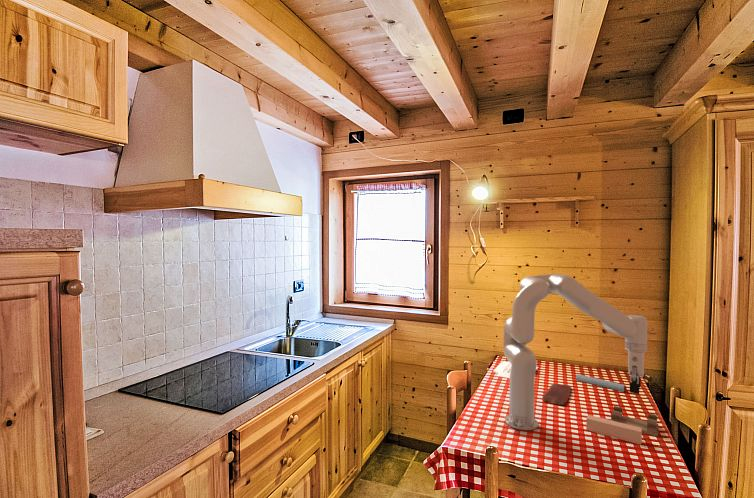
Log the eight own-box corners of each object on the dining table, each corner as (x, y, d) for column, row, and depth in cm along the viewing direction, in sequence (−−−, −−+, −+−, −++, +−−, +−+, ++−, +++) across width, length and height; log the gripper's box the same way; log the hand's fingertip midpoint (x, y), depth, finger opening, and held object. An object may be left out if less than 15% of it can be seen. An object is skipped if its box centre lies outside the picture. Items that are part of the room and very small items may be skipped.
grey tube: (626, 391, 196) (626, 384, 196) (622, 394, 192) (622, 387, 191) (577, 379, 212) (577, 373, 212) (573, 382, 208) (573, 376, 208)
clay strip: (640, 445, 145) (641, 432, 145) (586, 430, 156) (586, 418, 155) (641, 440, 148) (641, 427, 148) (588, 427, 159) (588, 414, 159)
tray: (489, 376, 218) (489, 369, 218) (503, 362, 242) (503, 356, 241) (528, 383, 207) (528, 376, 207) (538, 368, 231) (538, 362, 230)
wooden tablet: (564, 407, 177) (564, 403, 177) (541, 401, 182) (541, 398, 182) (573, 388, 199) (573, 384, 199) (552, 383, 204) (552, 380, 204)
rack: (657, 436, 151) (658, 425, 150) (609, 424, 160) (609, 413, 160) (658, 426, 159) (658, 415, 158) (612, 415, 168) (612, 405, 168)
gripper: (646, 353, 149) (645, 399, 150) (648, 343, 163) (647, 385, 164) (622, 349, 154) (622, 394, 154) (626, 340, 168) (626, 381, 168)
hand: (635, 389), depth 159 cm, fingers open, 7 cm apart
